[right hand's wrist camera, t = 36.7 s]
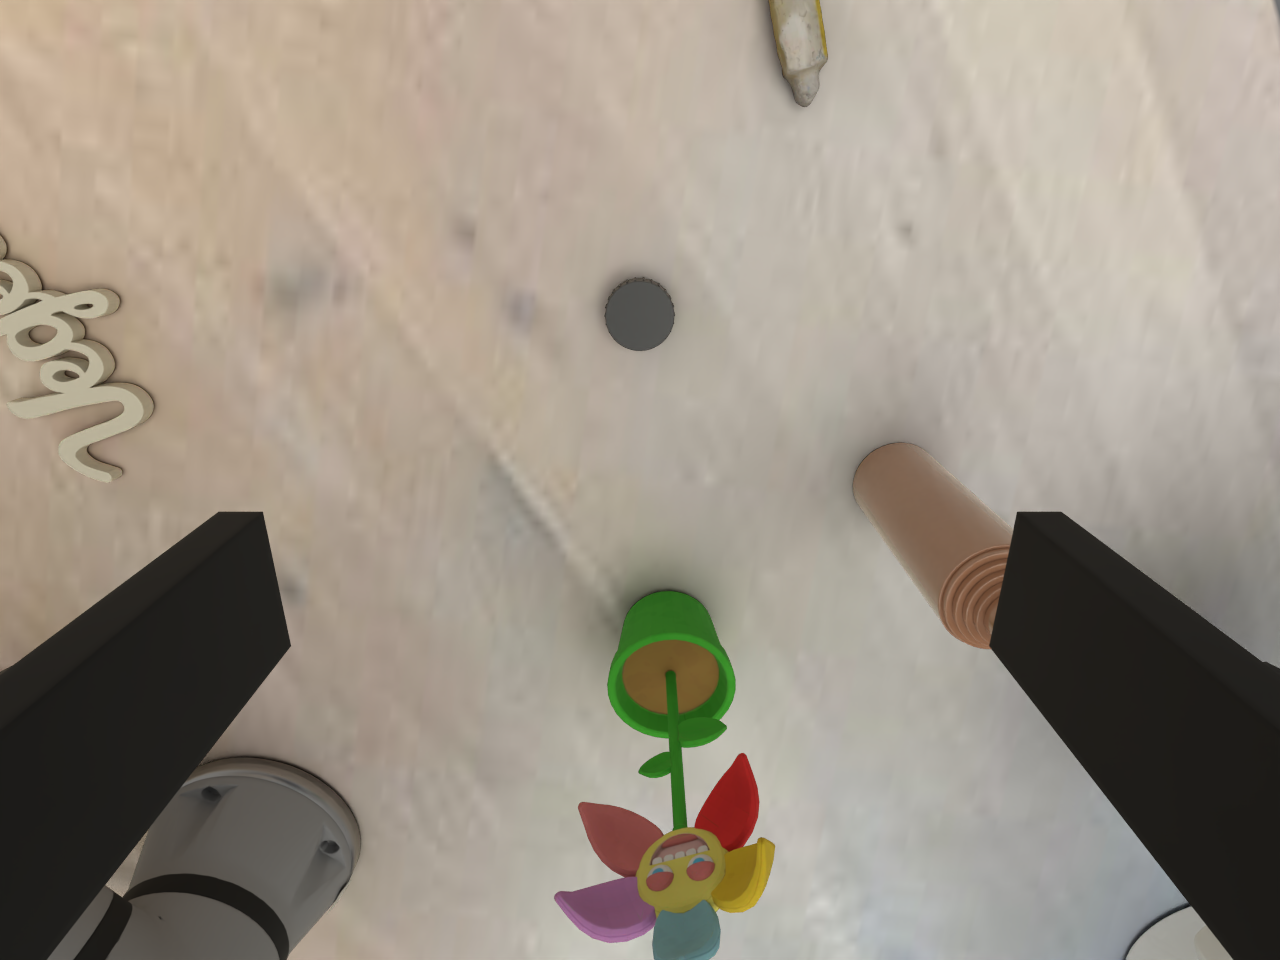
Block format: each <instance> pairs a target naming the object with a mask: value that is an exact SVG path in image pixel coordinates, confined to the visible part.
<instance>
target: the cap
mask: <svg viewBox="0 0 1280 960" xmlns="http://www.w3.org/2000/svg"><path fill="white" fill-rule="evenodd" d="M608 300H609V301H608V304H606V307H605V308H606V313H605V318H606V325H607V328H608V330H609V333H610V334H611V336H612V337H613V338H614V340H615V341H616V342H618V343H619V344H620V345H622V346H623V347H625V348H628V349H631V350H635V351H644V350H649V349H652V348H654V347H656V346H658V345H659V344H661V343H662V342H663V341H664V340H665V339H666V338H667V337H668V335H669V333H670V332H671V329H672V326H673V324H674V316H675V313H674V309H673V307H674V305H673V303H672V302H671V297H670V295H668V293H667V292H666V289H664V288H663V287H661V286H660V284H659V283H658V284H657V283H656V282H654V281H652V279H651V280H649V279H644V277H643V278H636V277H635V278H634V279H631V280H626V282H624V283H622V284H619V286H618V287H617V288H616V289H614V290H613V292H612V294H611V296H609V298H608Z"/></svg>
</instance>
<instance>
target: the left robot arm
mask: <svg viewBox="0 0 1280 960" xmlns="http://www.w3.org/2000/svg"><path fill="white" fill-rule="evenodd" d="M1126 960H1233V959H1232V958H1231V956H1230V955H1229V954H1228V952H1227V951H1226V950H1225V949H1224V947H1223V946H1222V945H1221V943H1220V942H1219V941H1218V940H1217V938H1216V937H1215V936H1214V934H1213V933H1212V932H1211V931H1210V929H1209V928H1208V927H1207V925H1206V924H1205V923H1204V922H1203V920H1202V919H1201V918H1200V916H1199V915H1198V914H1197V913H1196V911H1195V910H1194V909H1193V907H1192V906H1191V907H1188V908H1185V909H1183V910H1180V911H1178V912H1176V913H1173V914H1171V915H1170V916H1168V917H1166V918H1164V919H1162V920H1161V921H1159V922H1158V923H1156V924H1155V925H1153V926H1152V927H1151V928H1150V929H1148V930H1147V931H1146V932H1145V933H1144V934H1143V935H1142V936H1141V937H1140V938H1139V939H1138V940H1137V941H1136V942H1135V944H1134V945H1133V946H1132V948H1131V949H1130V951H1129V953H1128V955H1127V957H1126Z"/></svg>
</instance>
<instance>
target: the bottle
mask: <svg viewBox="0 0 1280 960" xmlns="http://www.w3.org/2000/svg"><path fill="white" fill-rule="evenodd" d="M853 493H854V497H855V500H856V502H857V504H858V505H859V507H860V508H861V510H862V511H863V512H864V514H865V515H866V517H867V518H868V519H869V521H870V522H871V524H872V525H873V527H874V528H875V529H876V531H877V532H878V534H879V535H880V536H881V538H882V539H883V541H884V542H885V543H886V545H887V546H888V548H889V549H890V550H891V552H892V553H893V555H894V556H895V558H896V559H897V560H898V562H899V563H900V565H901V566H902V567H903V569H904V570H905V572H906V573H907V574H908V576H909V577H910V579H911V580H912V582H913V583H914V584H915V586H916V587H917V589H918V590H919V591H920V593H921V594H922V596H923V597H924V598H925V600H926V601H927V603H928V604H929V606H930V607H931V608H932V610H933V611H934V613H935V614H936V615H937V617H938V618H939V620H940V621H941V622H942V624H943V625H944V627H945V628H946V629H947V630H948V632H949V633H950V634H951V635H953V636H954V637H955V638H957V639H959V640H960V641H962V642H965V643H967V644H969V645H971V646H974V647H977V648H982V649H991V648H990V646H989V644H990V639H991V634H992V630H993V625H994V620H995V615H996V611H997V606H998V601H999V596H1000V592H1001V587H1002V582H1003V577H1004V572H1005V568H1006V563H1007V558H1008V553H1009V549H1010V544H1011V539H1012V534H1013V530H1014V529H1013V528H1012V527H1010V526H1009V525H1008V524H1007V523H1006V522H1005V521H1004V520H1003V519H1001V518H1000V517H999V516H998V515H997V514H996V513H995V512H994V511H992V510H991V509H990V508H989V507H988V506H987V505H986V504H985V503H983V502H982V501H981V500H980V499H979V498H978V497H977V496H976V495H974V494H973V493H972V492H971V491H970V490H969V489H968V488H967V487H965V486H964V485H963V484H962V483H961V482H960V481H959V480H958V479H956V478H955V477H954V476H953V475H952V474H951V473H950V472H949V471H947V470H946V469H945V468H944V467H943V466H942V465H941V464H940V463H938V462H937V461H936V460H935V459H934V458H933V457H932V456H931V455H929V454H928V453H927V452H926V451H925V450H923V449H922V448H920V447H918V446H916V445H913V444H909V443H892V444H888V445H885V446H882V447H880V448H878V449H876V450H875V451H873V452H872V453H870V454H869V455H868V456H867V457H866V458H865V459H864V460H863V461H862V463H861V464H860V465H859V467H858V469H857V471H856V473H855V476H854V481H853Z"/></svg>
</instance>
